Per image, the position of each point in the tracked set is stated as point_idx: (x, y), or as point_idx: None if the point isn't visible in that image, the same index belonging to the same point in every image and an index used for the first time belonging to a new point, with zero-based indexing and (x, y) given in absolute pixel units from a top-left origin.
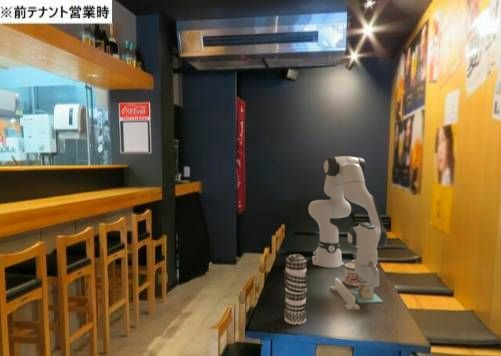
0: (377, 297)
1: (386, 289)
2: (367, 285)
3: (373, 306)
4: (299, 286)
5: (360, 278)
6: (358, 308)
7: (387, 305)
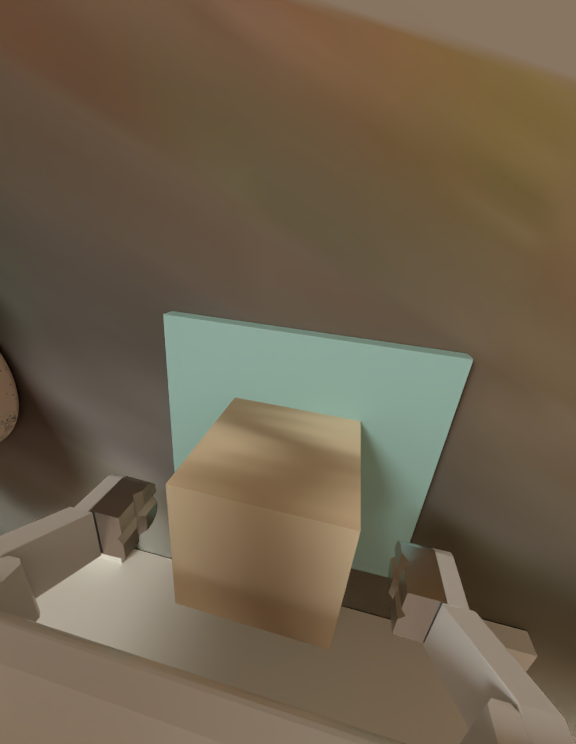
0: (337, 359)
1: (27, 18)
2: (253, 558)
3: (517, 504)
4: None
5: (45, 578)
6: (527, 648)
7: (564, 348)
